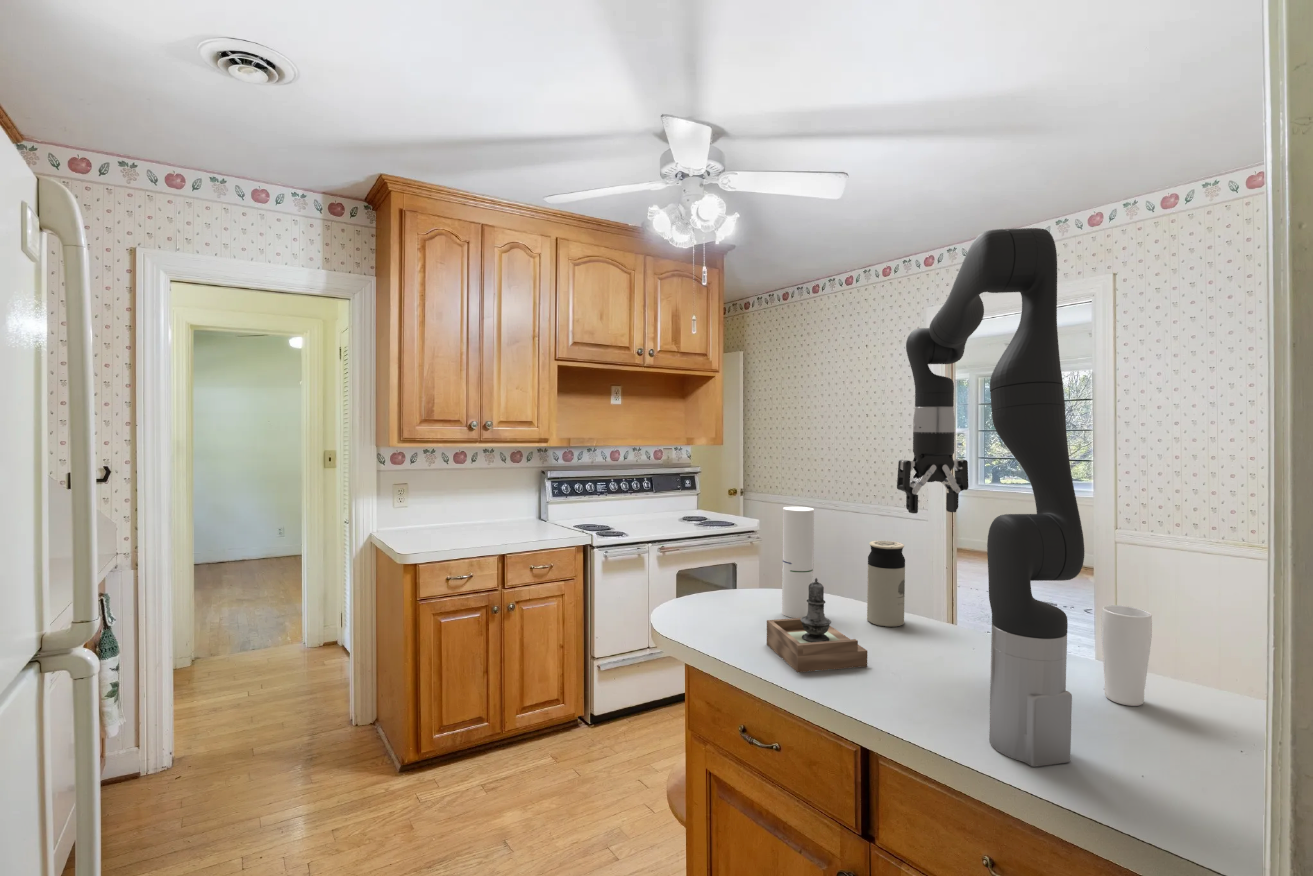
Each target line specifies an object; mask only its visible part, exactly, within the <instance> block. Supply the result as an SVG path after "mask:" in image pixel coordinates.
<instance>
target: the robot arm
mask: <svg viewBox="0 0 1313 876" xmlns="http://www.w3.org/2000/svg"><path fill="white" fill-rule="evenodd" d="M1057 254H1058V253H1057V246H1056V242H1055V240H1054V237H1053V235H1052V233H1050V231H1049V230H1047V229H1046V228H1038V227H1037V228H1034V227H1031V228H1030V227H1029V228H1027V227H1026V228H1025V227H1024V228H1005V229H1003V228H1000V229H990V230H986V231H984V232H981V233H980V234H978V235H977V237H976V238H975V239H974V240H973V242H972V243H971V245H970V246H969V248H968V250H967V252H966V254H965V257H964V259H963V261H962V264H961V266H960V267H959V270H958V273H957V275H956V278H955V280H954V282H953V285H952V288H951V291H950V293H949V295H948V297H947V299H946V300H945V302H944V304H943V305H942V306H941V307H940V309H939V310H938V312H937V313H936V314H935V316H934V317H933V318H932V320H931V322H930V324H929V327H921V328H919V327H918V328H915V329H914V330H912V331H911V332H910V334H909V335H908V336H907V340H906V342H905V349H906V350H905V351H906V354H907V355H906V356H907V359H908V361H909V366H910V369H911V372H912V377H913V383H914V414H913V418H912V419H913V422H912V424H913V426H912V427H913V428H912V431H913V432H912V453H913V456H914V457H913V460H909V459H908V460H907V459H899V460H898V465H897V480H896V490H898V491H901V492H903V493H905V495H906V496H905V497H906V498H905V499H906V500H905V501H906V502H905V504H906V505H905V507H906V510H907V511H908V512H909V513H910V514H918V512H919V494H918V492H919V491H920V490H921V488H922V487H923V486H925V484H926V483H935V482H939V483H941V484H942V485H943V486H944V488H945V489H946V491H948V492H946V496H945V497H946V498H945V499H946V502H945V504H946V505H945V506H946V507H945V509H946V512H948V513H957V510H958V509H959V497H960V496H959V494H960V493H961V492H963V491H967V490H968V489H969V487H970V486H969V462H968V460H966V459H962V458H961V459H960V458H959V459H958V458H957V459H955V460H954V457H953V455H954V454H955V436H956V434H955V430H956V429H955V428H956V417H955V411H954V409H955V408H954V407H955V405H954V402H955V398H954V397H955V384H954V380H953V379H952V378H950V377H947V376H943V375H938V374H936V373H933V372H932V370H931V369H930V365H951V364H955V363H957V362H959V361H960V360H961V359H962V358H963V356H964V353H965V347H966V344H967V341H968V338H970V337H971V336H972V335H973V334H974V332H975V331H976V330H977V329H978V327H979V326H980V325H981V323H982V321H983V319H984V315H985V307H984V301H983V300H982V298H981V296H980V295H981V294H983V293H989V294H990V293H991V294H998V293H999V294H1000V293H1001V294H1002V293H1020V295H1021V313H1020V321H1019V324H1018V326H1017V329H1016V331H1015V333H1014V335H1013V337H1012V339H1011V341H1010V342H1009V344H1008V345H1007V346H1006V349H1005V350H1004V351H1003V353H1002V355H1001V356H1000V358H999V360H998V362H997V363H996V365H995V367H994V369H993V371H992V373H991V376H990V379H989V392H990V405H991V406H990V407H991V418H992V425H993V426H994V429H995V431H996V432H997V435H998V436H999V438H1000V440H1001V441H1002V443H1003V444H1004V445H1005V447H1006V448H1007V449H1008V451H1009V452H1010V453H1011V454H1012V456H1013V457H1014V458H1015V460H1016V461H1017V462H1018V464H1019V465H1020V466H1021V468H1022V469H1023V471H1024V474H1025V475H1026V476H1027V477H1028V480H1029V483H1030V485H1031V489H1032V493H1033V497H1034V502H1035V509H1036V513H1006V514H1001V515H998V516H996V517H995V518H994V519H993V521H992V522H991V524H990V526H989V528H988V533H987V534H988V535H987V544H986V546H987V547H986V548H987V549H986V550H987V551H986V552H987V574H988V576H987V577H988V599H989V600H988V601H989V605H990V609H991V641H990V643H991V644H990V645H991V646H990V680H989V681H990V682H989V683H990V685H989V686H990V687H989V688H990V690H989V730H988V732H989V734H988V735H989V737H988V740H989V743H990V745H991V746H992V747H993V748H994V750H996V751H998V753H1000V754H1002V755H1005V757H1009V758H1011V759H1013V760H1016V761H1020V762H1023V763H1025V764H1027V765H1029V766H1030V767H1033V768H1035V767H1041V766H1043V767H1044V766H1051V765H1057V764H1058V765H1059V764H1064V763H1070V762H1071V746H1072V716H1073V715H1072V714H1073V713H1072V710H1073V707H1072V705H1073V694H1072V693H1071V692H1069V691H1068V690H1066V688H1067V658H1068V657H1067V654H1068V651H1067V650H1068V615H1067V614H1066V613H1065V612H1064V610H1062V609H1060V608H1059V607H1057V606H1055V605H1053V604H1049V603H1047V602H1044V601H1041V600H1038V599H1036V598H1034V597H1033V593H1032V585H1031V584H1032V583H1031V582H1033V581H1035V582H1036V581H1039V582H1040V581H1041V582H1042V581H1044V582H1045V581H1046V582H1047V581H1049V582H1050V581H1052V582H1053V581H1054V582H1055V581H1058V582H1061V581H1070V580H1073V579H1075V578H1077V577H1078V576H1079V574H1080V573H1081V572H1082V568H1083V566H1084V560H1085V541H1084V540H1085V539H1084V532H1083V527H1082V521H1081V516H1080V511H1079V506H1078V502H1077V501H1078V500H1077V497H1076V493H1075V488H1074V482H1073V476H1072V471H1071V470H1072V469H1071V462H1070V461H1071V460H1070V455H1069V454H1070V453H1069V446H1068V445H1069V444H1068V436H1067V420H1066V419H1067V418H1066V403H1065V392H1064V383H1063V375H1062V369H1061V368H1062V366H1061V358H1060V348H1059V345H1060V344H1059V337H1058V335H1059V334H1058V333H1059V332H1058V255H1057ZM913 469H914V473H913V474H912V475H911V472H912V471H913ZM952 470H954V475H953V473H952Z"/></svg>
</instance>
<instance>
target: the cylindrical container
mask: <svg viewBox="0 0 1313 876" xmlns="http://www.w3.org/2000/svg"><path fill="white" fill-rule="evenodd" d="M814 527H815V509H814V508H812V507H809V506H784V507H782V571H781V573H782V574H781V575H782V577H781V578H782V580H781V581H782V585H781V586H782V588H781V590H782V591H781V595H782V596H781V613H782V615H783V616H785V617H788V618H802V617H805V616H807V613H808V602H807V599H809V585H810V584H811V583H813V582H814V551H815V549H814V545H815V543H814V541H815V540H814V539H815V538H814V537H815V536H814V534H815V532H814V531H815V528H814Z"/></svg>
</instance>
